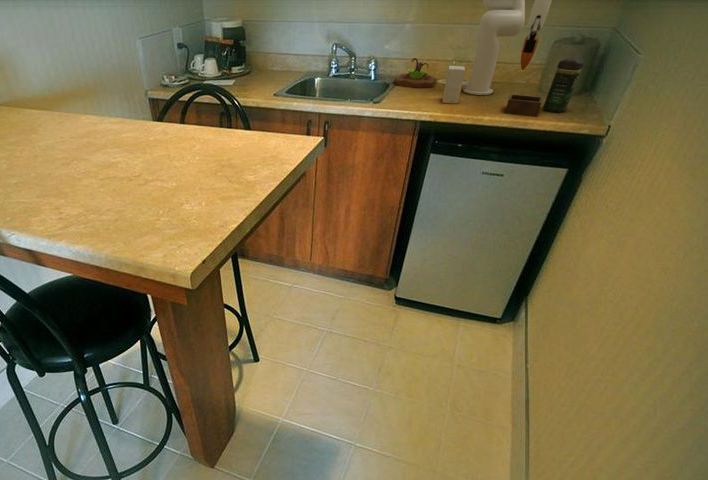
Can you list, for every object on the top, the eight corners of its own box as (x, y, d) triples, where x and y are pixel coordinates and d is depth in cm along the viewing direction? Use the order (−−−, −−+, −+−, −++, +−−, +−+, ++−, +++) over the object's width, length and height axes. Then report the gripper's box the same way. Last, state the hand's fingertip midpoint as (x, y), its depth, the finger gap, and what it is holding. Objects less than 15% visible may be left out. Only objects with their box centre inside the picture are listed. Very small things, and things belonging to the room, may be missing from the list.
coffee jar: (561, 113, 158) (581, 60, 147) (540, 110, 162) (557, 58, 151) (568, 109, 163) (588, 57, 152) (547, 105, 168) (565, 54, 157)
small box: (458, 103, 171) (465, 69, 163) (442, 103, 172) (449, 68, 164) (457, 99, 177) (464, 66, 169) (442, 98, 178) (448, 65, 171)
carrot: (527, 68, 156) (541, 22, 146) (531, 71, 152) (546, 24, 142) (513, 68, 156) (527, 22, 147) (518, 71, 152) (532, 24, 143)
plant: (398, 77, 213) (402, 53, 206) (437, 80, 207) (441, 56, 200) (390, 85, 199) (393, 60, 192) (431, 89, 193) (436, 62, 186)
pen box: (504, 112, 160) (508, 99, 157) (507, 107, 166) (511, 94, 163) (536, 116, 155) (541, 102, 152) (537, 110, 162) (542, 97, 159)
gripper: (535, -11, 146) (518, 47, 157) (533, -8, 134) (515, 54, 145) (558, -10, 143) (540, 48, 155) (558, -8, 131) (538, 56, 143)
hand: (528, 50), depth 150 cm, fingers closed on carrot, 4 cm apart
